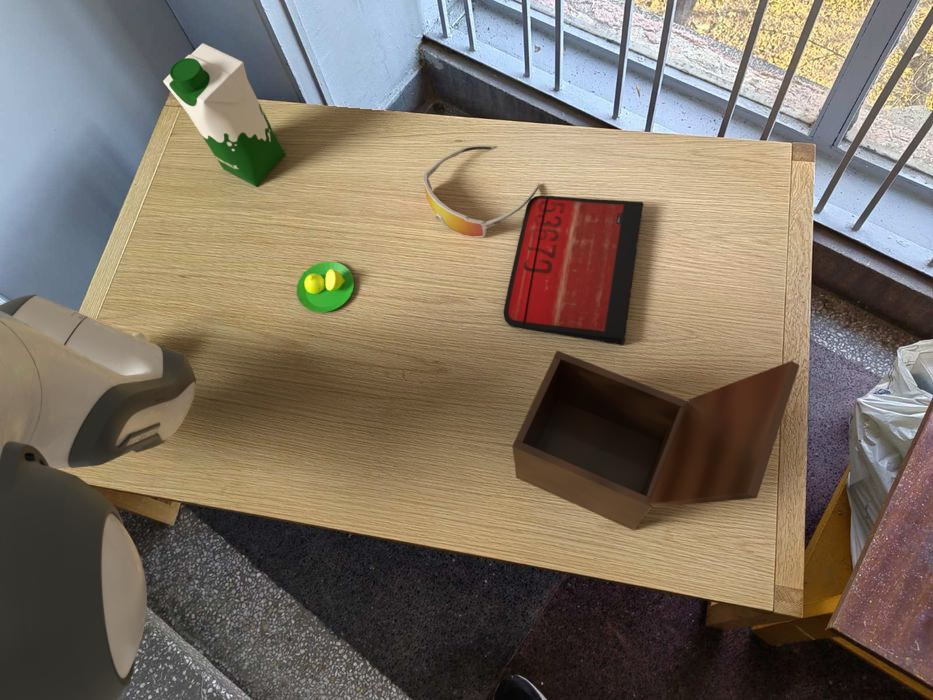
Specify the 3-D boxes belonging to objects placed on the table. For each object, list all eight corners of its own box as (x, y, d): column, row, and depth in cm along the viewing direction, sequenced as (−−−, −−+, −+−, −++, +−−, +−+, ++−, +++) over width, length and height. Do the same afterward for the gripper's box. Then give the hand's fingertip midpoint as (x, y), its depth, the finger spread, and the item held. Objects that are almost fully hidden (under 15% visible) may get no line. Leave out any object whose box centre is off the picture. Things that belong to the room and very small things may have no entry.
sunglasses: (406, 199, 99) (404, 174, 95) (482, 150, 104) (483, 124, 100) (472, 257, 94) (472, 234, 90) (548, 203, 99) (552, 178, 95)
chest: (516, 477, 81) (512, 446, 69) (554, 394, 85) (556, 350, 73) (634, 530, 77) (651, 506, 65) (668, 440, 81) (691, 402, 69)
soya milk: (215, 171, 105) (148, 69, 87) (253, 131, 108) (195, 24, 90) (257, 194, 102) (196, 94, 84) (294, 152, 105) (244, 46, 87)
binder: (644, 200, 92) (626, 339, 84) (642, 210, 94) (624, 346, 86) (527, 190, 96) (499, 322, 88) (528, 200, 98) (501, 330, 90)
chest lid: (748, 493, 50) (757, 498, 50) (791, 360, 54) (800, 365, 54) (648, 504, 65) (656, 508, 65) (688, 398, 68) (695, 402, 69)
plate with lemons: (346, 256, 96) (341, 245, 94) (361, 303, 93) (356, 292, 90) (292, 274, 96) (286, 264, 93) (305, 322, 92) (298, 312, 90)
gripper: (119, 338, 70) (148, 307, 83) (-75, 422, 68) (-14, 377, 81) (151, 390, 72) (175, 351, 85) (-36, 473, 70) (17, 420, 83)
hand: (81, 364), depth 83 cm, fingers open, 8 cm apart
